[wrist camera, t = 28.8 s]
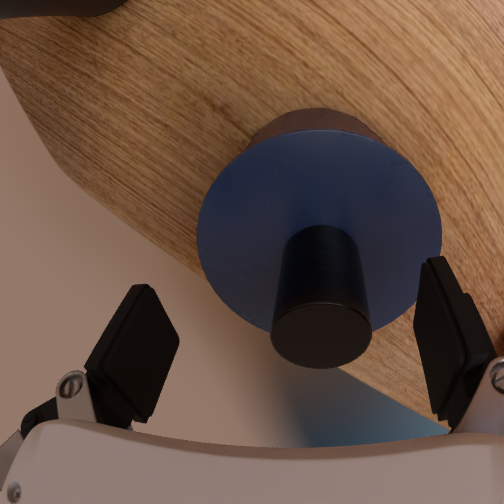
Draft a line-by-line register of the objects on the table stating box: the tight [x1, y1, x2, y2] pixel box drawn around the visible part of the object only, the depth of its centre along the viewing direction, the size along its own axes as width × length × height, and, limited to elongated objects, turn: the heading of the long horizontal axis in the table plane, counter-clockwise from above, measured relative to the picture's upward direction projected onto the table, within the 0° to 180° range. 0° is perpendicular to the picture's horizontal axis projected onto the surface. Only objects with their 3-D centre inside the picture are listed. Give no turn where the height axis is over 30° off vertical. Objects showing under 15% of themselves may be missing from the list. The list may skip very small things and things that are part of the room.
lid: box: [197, 127, 442, 369], centre depth 13 cm, size 12×12×6 cm
